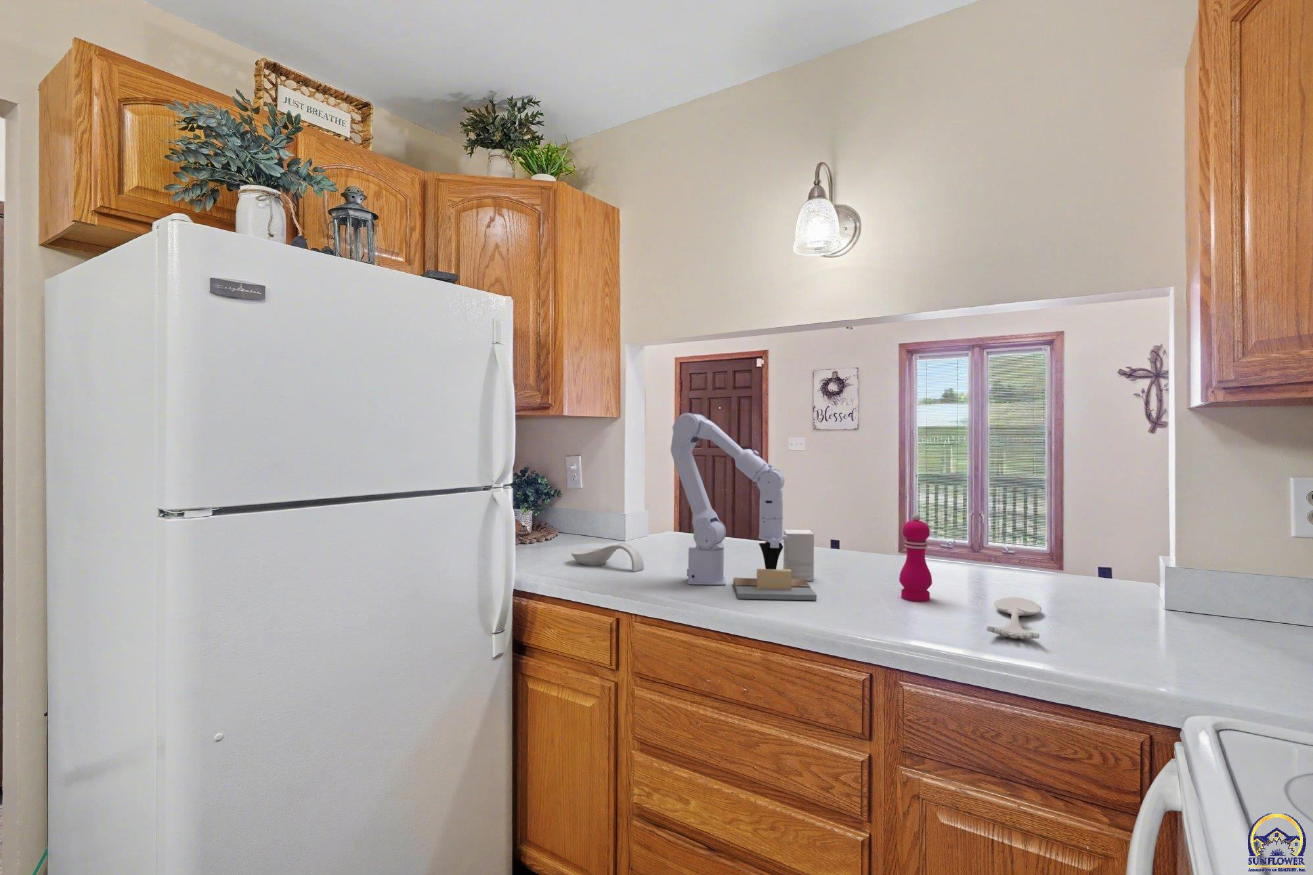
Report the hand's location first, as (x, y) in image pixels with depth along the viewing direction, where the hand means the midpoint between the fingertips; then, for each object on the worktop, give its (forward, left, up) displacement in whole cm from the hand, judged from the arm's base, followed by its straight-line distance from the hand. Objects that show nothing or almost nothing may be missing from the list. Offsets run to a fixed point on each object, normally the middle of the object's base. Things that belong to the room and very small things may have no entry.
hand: (770, 572), depth 164 cm
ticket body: (0, -1, -4) cm, 4 cm away
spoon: (+46, -28, -4) cm, 54 cm away
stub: (0, -9, -4) cm, 10 cm away
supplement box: (+9, +12, -4) cm, 15 cm away
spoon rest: (-44, +24, -4) cm, 50 cm away
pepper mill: (+33, -8, -4) cm, 34 cm away
